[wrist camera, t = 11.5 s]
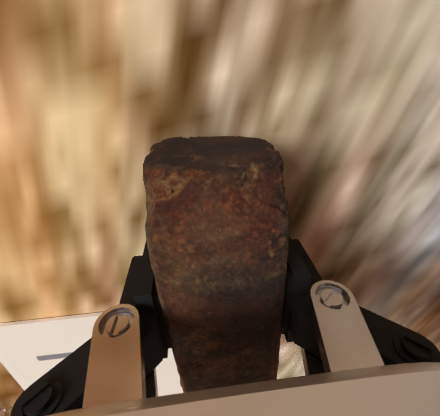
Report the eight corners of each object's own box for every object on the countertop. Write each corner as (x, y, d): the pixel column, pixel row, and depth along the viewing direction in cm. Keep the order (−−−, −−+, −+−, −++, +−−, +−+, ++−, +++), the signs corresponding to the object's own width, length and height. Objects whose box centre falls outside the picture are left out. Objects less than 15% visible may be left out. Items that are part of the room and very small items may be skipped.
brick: (255, 313, 15) (279, 406, 11) (186, 322, 15) (185, 420, 11) (258, 126, 10) (307, 172, 6) (151, 134, 10) (125, 190, 6)
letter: (170, 304, 14) (170, 307, 14) (196, 421, 21) (196, 425, 21) (-24, 326, 14) (-27, 330, 13) (68, 439, 21) (67, 443, 20)
